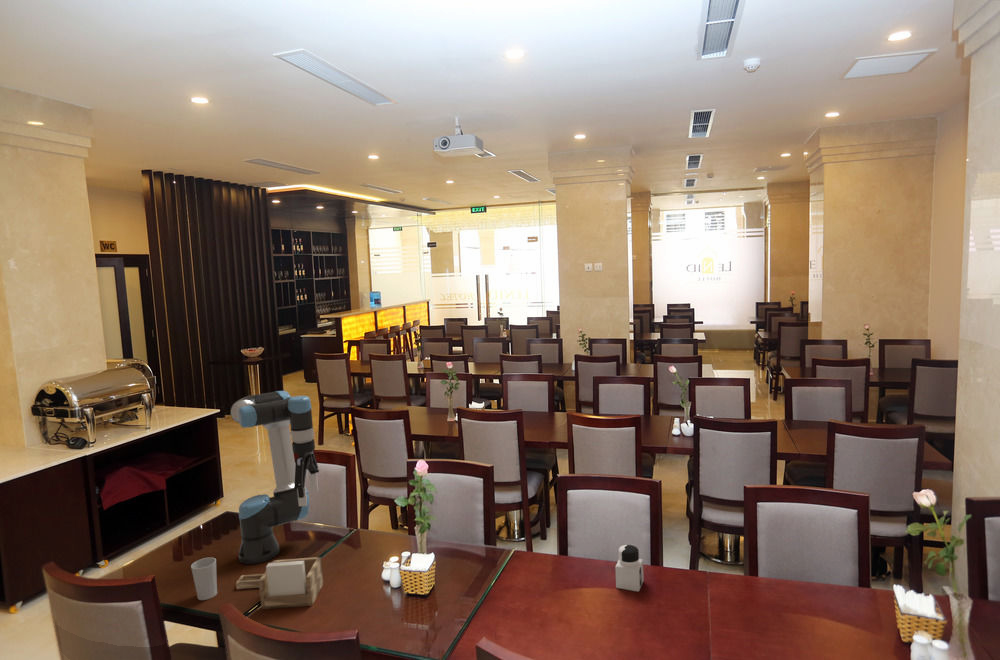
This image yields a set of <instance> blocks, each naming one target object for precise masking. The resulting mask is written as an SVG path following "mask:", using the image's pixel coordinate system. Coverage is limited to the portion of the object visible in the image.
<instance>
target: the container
mask: <svg viewBox="0 0 1000 660" xmlns="http://www.w3.org/2000/svg"><path fill="white" fill-rule="evenodd" d="M639 552H640V551H639V548H638V547H637V546H635V545H631V544H625V545H621V546H620V547H619V548H618V560H617V563H616V564H615V587H616V588H617V589H622V590H626V591H632V592H640V590H641V589H642V588H641V587H642V585H643V584H644V559H643V558H640V554H639Z"/></svg>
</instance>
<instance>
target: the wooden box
mask: <svg viewBox="0 0 1000 660" xmlns="http://www.w3.org/2000/svg"><path fill="white" fill-rule="evenodd" d="M291 561H304V565H305V575H306V584H307V594H301V595H288V596H275V597H269V589H268V580H267V570H265V571H264V572H263V573H262V574H263V576H262V577H261V578H260V580H259V588H258V590H259V597H260V598H259V599H260V607H261V610H270V609H282V608H284V609H286V608H295V607H308V606H309V607H310V606H313V605H314V604H315V601H316V599H317V597H318V596H319V593H320V591H321V589H322V588H323V585H324V575H323V567H322V566H323V565H322V557H321V556H317V557H316V556H315V557H303V558H302V557H301V558H289V559H287V558H286V559H276V560H273V561H272V562H271V563H278V562H291Z"/></svg>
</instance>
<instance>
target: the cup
mask: <svg viewBox="0 0 1000 660" xmlns="http://www.w3.org/2000/svg"><path fill="white" fill-rule="evenodd" d="M190 568H191V573H192V577H193V581H194V587H195V591H196V596H197V597H196V598H197V599H198V600H199V601H205V600H210V599H212V598H214V597H216V595H217V594H218V586H217V584H218V583H217V582H218V581H217V580H218V579H217V559H216V558H214V557H203V558H201V559H198V560H196V561H194V562H192V564H191V566H190Z"/></svg>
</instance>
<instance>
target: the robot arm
mask: <svg viewBox="0 0 1000 660" xmlns="http://www.w3.org/2000/svg"><path fill="white" fill-rule="evenodd" d="M229 413H230V417H231V419H232V420H233V421H234V422H236V423H237V424H239V425H240V427H241V428H254V427H257V426H262V427H263V428H264V429H265V430H267V435H268V443H269V449H270V455H271V461H272V467H273V473H274V480H275V486H276V487H275V489H274V490H273V496H271V497H270V496H269V494H265V493H264V494H257V495H254V496H250V497H248V498H246V499H245V500H244V501H242V502H241V504H239V506H238V519H239V524H240V525H239V527H240V535H241V542H240V543H241V544H240V547H239V551H238V561H239V562H240V563H241V564H244V565H256V564H261V563H264V562H267V561H270V560H272V559H274V558H275V557H277V556H278V555H279V553H280V544H279V543H278V541H277V538H276V536H275V534H274V530H273V529H274V527H277V526H280V525H284V524H288V523H292V522H298V521H299V520H303V519H305V518H307V516H308V514H309V511H310V496H309V491H310V492H312V493H313V492H318V491H319V487H318V485H319V484H318V483H319V482H318V474H317V473H319V472H320V470H319V465H318V463H317V459H316V455H315V452H314V451H315V450H316V444H315V442H316V441H315V439H314V438H315V432H314V431H315V430H314V424H313V413H312V404H311V398H310V397H309V396H307V395H297V396H291V395H290V393H289V392H288V391H286V390H278V391H277V390H275V391H272V392H270V391H269V392H264V393H258V394H253V395H252V394H251V395H247V396H244V397H242V398H240V399H238V400H236V401H235V402H234V403H233V404H232V406H231V408H230V411H229ZM294 454H296V455H298V457H297V458H295V455H294ZM307 471H308V473H309V474H308V481H309V482H308V483H309V490H308V489H307V487H306V486H305V485H306V475H307Z"/></svg>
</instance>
